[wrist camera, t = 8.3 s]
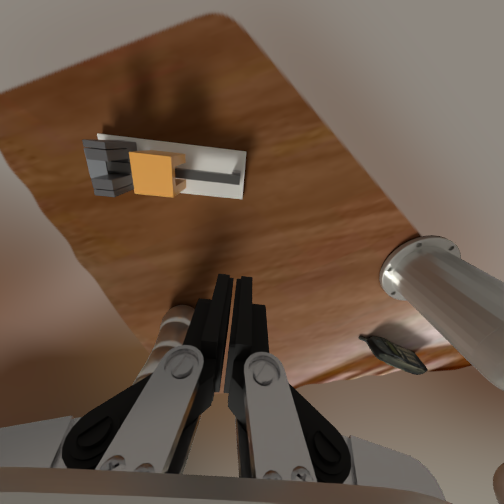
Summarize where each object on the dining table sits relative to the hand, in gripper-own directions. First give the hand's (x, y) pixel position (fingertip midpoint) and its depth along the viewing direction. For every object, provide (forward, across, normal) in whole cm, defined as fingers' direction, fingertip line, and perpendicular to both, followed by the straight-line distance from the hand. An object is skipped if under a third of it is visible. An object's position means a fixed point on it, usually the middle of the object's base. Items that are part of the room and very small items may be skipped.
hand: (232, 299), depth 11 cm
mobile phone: (+24, -34, +28) cm, 50 cm away
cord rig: (+22, +10, -3) cm, 24 cm away
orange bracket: (+20, +10, -3) cm, 22 cm away
